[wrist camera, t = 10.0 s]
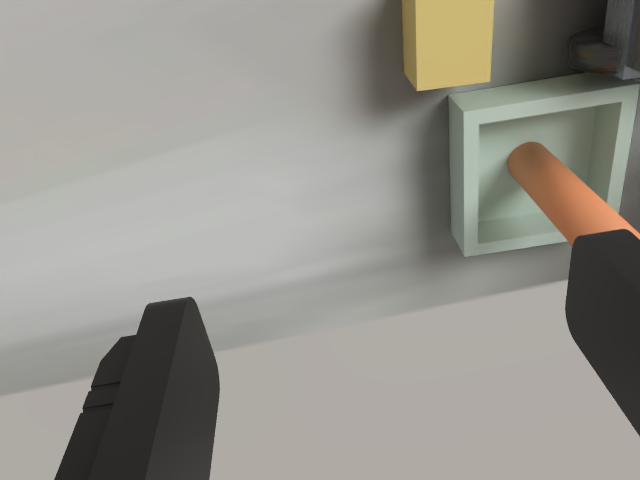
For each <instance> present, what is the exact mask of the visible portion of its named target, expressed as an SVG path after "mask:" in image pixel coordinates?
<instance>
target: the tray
mask: <svg viewBox="0 0 640 480" xmlns="http://www.w3.org/2000/svg"><path fill="white" fill-rule="evenodd" d="M639 89H640V83H638V82H636V81H634V80H632V79H625V80H622V79H620V78H618V77H616V76H614V75H612V74H595V73H588V72H587V73H580V74H574V75H568V76H562V77H556V78H549V79H543V80H537V81H531V82H524V83H518V84H512V85H506V86H500V87H493V88H487V89H481V90H475V91H469V92H462V93H456V94H450V95H448V107H449V157H450V207H451V233H452V235H453V237H454V238H455V240H456V242H457V244H458V246H459V248H460V250H461V252H462V254H463V256H464V257H469V256H476V255H482V254H489V253H495V252H502V251H508V250H515V249H521V248H528V247H534V246H541V245H547V244H554V243H560V242H567V240H566V238H565V237H564V236H563V235H562V234H561V233H560V231H559V230H558V229H557V228H556V227H555V226H554V224H553V223H552V222H551V221H550V220H549V219H548V217H547V216H546V215H545V214H544V213H543V212H542V210H541V209H540V208H539V207H538V206H537V205H536V203H535V202H534V201H533V200H532V199H531V197H530V196H529V195H528V194H527V193H526V192H525V190H524V189H523V188H522V187H521V186H520V185H519V183H518V182H517V181H516V180H515V179H514V178H513V176H512V175H511V174H510V173H509V171H508V167H507V162H508V158H509V156H510V154H511V153H512V151H513V150H514V149H515V148H516V147H518V146H519V145H521V144H523V143H526V142H538V143H540V144H542V145H543V146H544V147H545V148H547V149H548V150H549V151H550V152H551V153H552V154H553V155H554V156H555V157H556V158H557V159H559V160H560V161H561V162H562V163H563V164H564V165H565V166H566V167H567V168H568V169H570V170H571V171H572V172H573V173H574V174H575V175H576V176H577V177H578V178H579V179H580V180H582V181H583V182H584V183H585V184H586V185H587V186H588V187H589V188H590V189H591V190H593V191H594V192H595V193H596V194H597V195H598V196H599V197H600V198H601V199H602V200H603V201H605V202H606V203H607V204H608V205H609V206H610V207H611V208H612V209H613V210H614V211H616V212H617V213H618V214H619V209H620V203H621V197H622V191H623V185H624V179H625V173H626V167H627V161H628V155H629V149H630V143H631V137H632V131H633V125H634V119H635V113H636V107H637V101H638V95H639Z"/></svg>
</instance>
